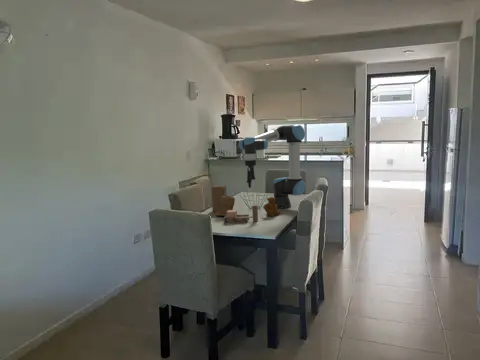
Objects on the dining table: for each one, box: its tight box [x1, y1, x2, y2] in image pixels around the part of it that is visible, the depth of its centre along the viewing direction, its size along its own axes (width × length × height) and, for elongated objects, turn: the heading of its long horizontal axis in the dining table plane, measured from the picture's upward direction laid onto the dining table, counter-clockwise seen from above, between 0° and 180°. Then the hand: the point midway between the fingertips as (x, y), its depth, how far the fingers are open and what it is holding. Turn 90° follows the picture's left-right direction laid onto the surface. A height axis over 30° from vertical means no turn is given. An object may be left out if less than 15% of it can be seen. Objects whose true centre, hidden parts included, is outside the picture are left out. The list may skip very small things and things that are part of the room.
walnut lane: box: [223, 214, 250, 224], centre depth 279 cm, size 16×10×4 cm, turn 82°
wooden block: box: [210, 184, 228, 213], centre depth 315 cm, size 10×10×20 cm
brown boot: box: [213, 195, 236, 217], centre depth 298 cm, size 15×12×15 cm
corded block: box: [227, 203, 259, 223], centre depth 278 cm, size 21×6×11 cm, turn 81°
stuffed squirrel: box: [262, 196, 282, 217], centre depth 292 cm, size 10×14×13 cm
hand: (251, 190), depth 277 cm, fingers open, 13 cm apart
